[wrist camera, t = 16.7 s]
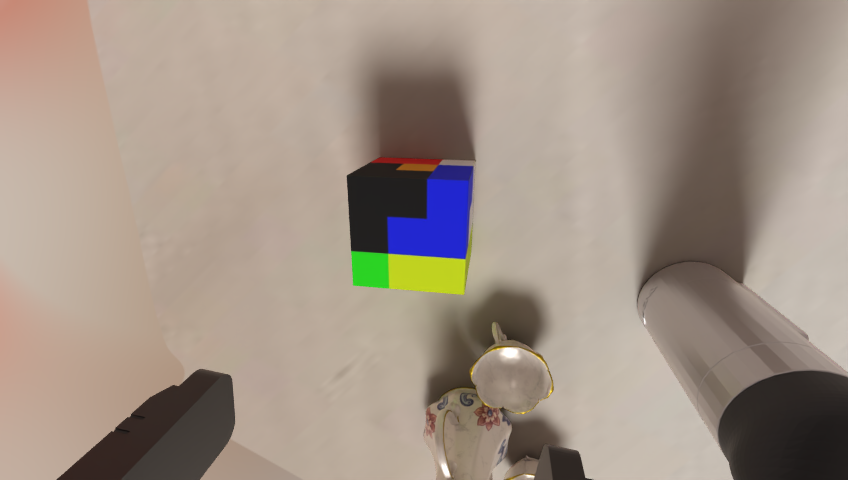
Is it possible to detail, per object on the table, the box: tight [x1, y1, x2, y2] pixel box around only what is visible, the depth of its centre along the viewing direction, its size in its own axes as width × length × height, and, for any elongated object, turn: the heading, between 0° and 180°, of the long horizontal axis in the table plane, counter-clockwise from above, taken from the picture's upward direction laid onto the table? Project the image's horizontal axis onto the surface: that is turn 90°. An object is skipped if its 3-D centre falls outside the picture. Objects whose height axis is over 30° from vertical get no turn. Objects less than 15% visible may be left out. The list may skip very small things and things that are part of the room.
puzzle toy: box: [347, 157, 476, 295], centre depth 39 cm, size 10×10×10 cm
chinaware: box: [423, 322, 554, 480], centre depth 45 cm, size 28×17×17 cm, turn 18°
